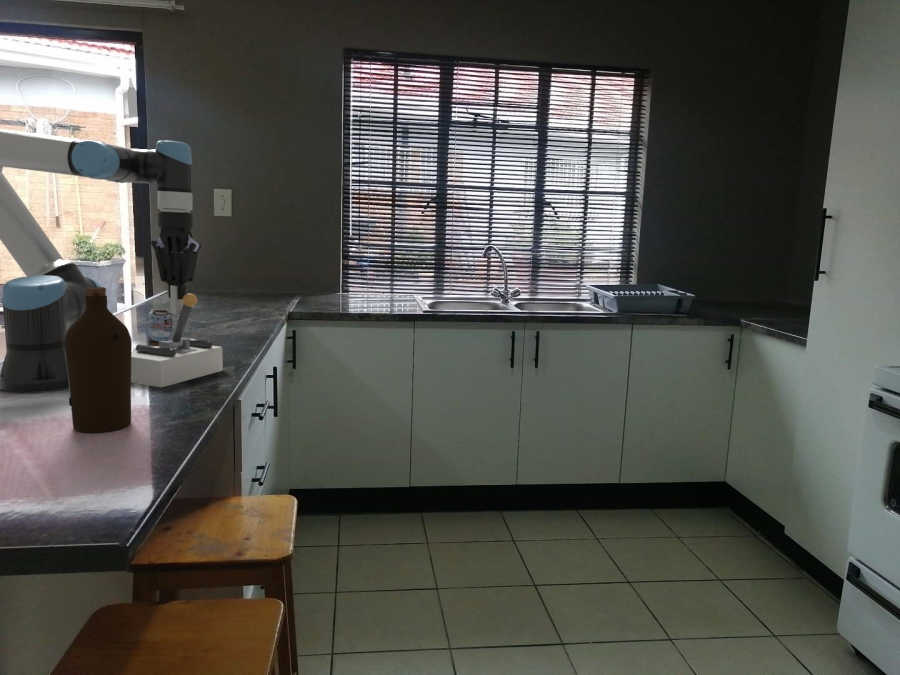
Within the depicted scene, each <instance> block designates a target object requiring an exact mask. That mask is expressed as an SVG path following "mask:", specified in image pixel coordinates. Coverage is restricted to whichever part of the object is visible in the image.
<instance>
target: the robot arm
mask: <svg viewBox="0 0 900 675" xmlns="http://www.w3.org/2000/svg"><path fill="white" fill-rule="evenodd" d="M192 158H193V157H192V149H191V146H190V145H189V144H188V143H185V142H182V141H175V140H158V141H157V142H156V143H155V149H140V148H129V147H124V146H119V145H115V144H111V143H106V142H105V141H100V140H95V139H90V140H89V139H88V140H87V139H77V138H72V137H71V138H70V137H65V136H64V137H63V136H57V135H56V136H55V135H47V134H42V133H41V134H40V133H31V132H25V131H17V130H12V129H11V130H10V129H1V128H0V241H1V242H2V245H4V246H5V248H6V250H7V252H8V253H9V254H10V255H11V257H12V258H13V260H14V261H15V262H16V264H17V265H18V266H19V268H20V270H22V272H23V273H24V275H25V276H21V277H16V278H13V279H10V280H8V281H6V282H5V283H4V284H3V286H2V297H1V304H2V310H3V322H4V326H3V327H4V337H5V338H4V339H5V349H6V350H5V357H4V359H3V363H2V366H1V371H0V390H1V391H3V392H8V393H9V392H10V393H20V394H21V393H44V392H52V391H58V390H63V389H69V383H68V374H67V366H66V358H65V350H64V340H65V336H66V333H67V330H68V329H69V327H70V326H71V325H72V324H73V323H74V322H75V321H76V320H77V319H78V318H79V317H80V316H81V315H82V314H83V312H84V311H85V310H86V300H85V296H86V288H88V287H102V286H101V284H100V283H99V282H98V281H96V280H95V279H94V278H91V277H89V276H86V275H84V274H83V272H81V270H80V269H79V267H78V266H77V265H76V263H75V262H73V261H68V260H65V259H64V258H63V256H62V255H61V254H60V253H59V251H58V249H57V248H56V247H55V245H54V244H53V243H52V240H51V239H50V238H49V237H48V235H47V234H46V232H44V230H43V228H42V227H41V226H40V224H39V223H38V221H37V220H36V219H35V217H34V215H33V214H32V213H31V211H30V210H29V209H28V207H27V205H26V204H25V203H24V202H23V200H22V199H21V197H20V196H19V194H18V193H17V192H16V190H15V189H14V187H13V186H12V184H11V183H10V182H9V180H8V179H7V178H6V176H5V175H4V173H3V168H11V169H17V170H19V169H20V170H27V171H35V172H44V173H51V174H59V175H68V176H75V177H82V178H89V179H93V180H105V181H107V182H114V183H120V184H127V183H128V184H129V183H130V184H151V185H153V184H154V185H156V187H157V188H156V190H157V191H156V192H157V193H156V194H157V197H156V198H157V199H156V200H157V201H156V202H157V203H156V204H157V209H158V210H160V211H158V212H157V226H158V227H159V228H160V232H159V234H158V235H159V237H158V238H157V239H155V240H154V239H153V240H151V242H150V243H151V246H152V248H153V249H154V254H155V259H156V263H157V268H158V273H159V276H160V281H161V282H162V283H163V282H165V283H166V284H167V286H168V298H169V299H170V311H171V313H172V314H174V315H175V314H180V313H181V310H182V307H183V304H184V303H183V297H184V295H186V294H187V293H186V292H187V290H186V286H187V285H188V284H192V283H193V282H194V280H195V279H194V278H195V271H196V267H197V261H198V254H199V252H200V250H201V248H202V243H201V242H196V241H195V240H194V239H193V234H192V231H191V230H192V229H193V228H194V214H193V213H191V211H193V208H194V207H193V206H194V205H193V160H192Z"/></svg>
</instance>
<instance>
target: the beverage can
mask: <svg viewBox="0 0 900 675" xmlns="http://www.w3.org/2000/svg"><path fill="white" fill-rule="evenodd" d="M172 336H173V313H171V309H169V308H168V309H167V308H166V309H165V308H151V309H150V311H149V313H148V344H147V345H149V346H156V347H157V346H159V341H170V340H171V339H172Z"/></svg>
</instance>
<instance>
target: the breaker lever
mask: <svg viewBox="0 0 900 675" xmlns="http://www.w3.org/2000/svg"><path fill="white" fill-rule="evenodd" d="M183 303H184V304H183V307H182V310H181V313H179V316H178V320H177V322H176V325H175V328H174V331H173V332H172V339H171V340H170V341H168V342H173V348H177V347H182V346H183V340H182V339H181V338H183V335H184V331H185V328H186V325H187V323H188V321H189V317H190V315H191V311H192V309H193V307H194V306H196V305H197V303H198V298H197V296H196V295H195V294H194V293H191V292H189V293H186V295H184V297H183Z"/></svg>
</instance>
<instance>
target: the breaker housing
mask: <svg viewBox="0 0 900 675" xmlns="http://www.w3.org/2000/svg"><path fill="white" fill-rule="evenodd" d="M181 339H182V340H183V346H182V347H177V348H173V342H168V341H159V346H157V347H156V346H149V345H148V344H140V343H139V344H137V345H136V346H135V350H132V351H131V384H137V385H143V386H150V387H155V388H165V387H169V386H172V385H175V384H179V383H183V382H186V381H189V380H193V379H197V378H200V377H201V378H202V377H204V376H207V375H212V374H215V373H219V372H223V371H224V370H223V369H224V368H223V360H224V359H223V346H219V345H218V346H217V345H213V344H214V343H213V341H211V340H205V339H197V338H189V337H182V338H181Z"/></svg>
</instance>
